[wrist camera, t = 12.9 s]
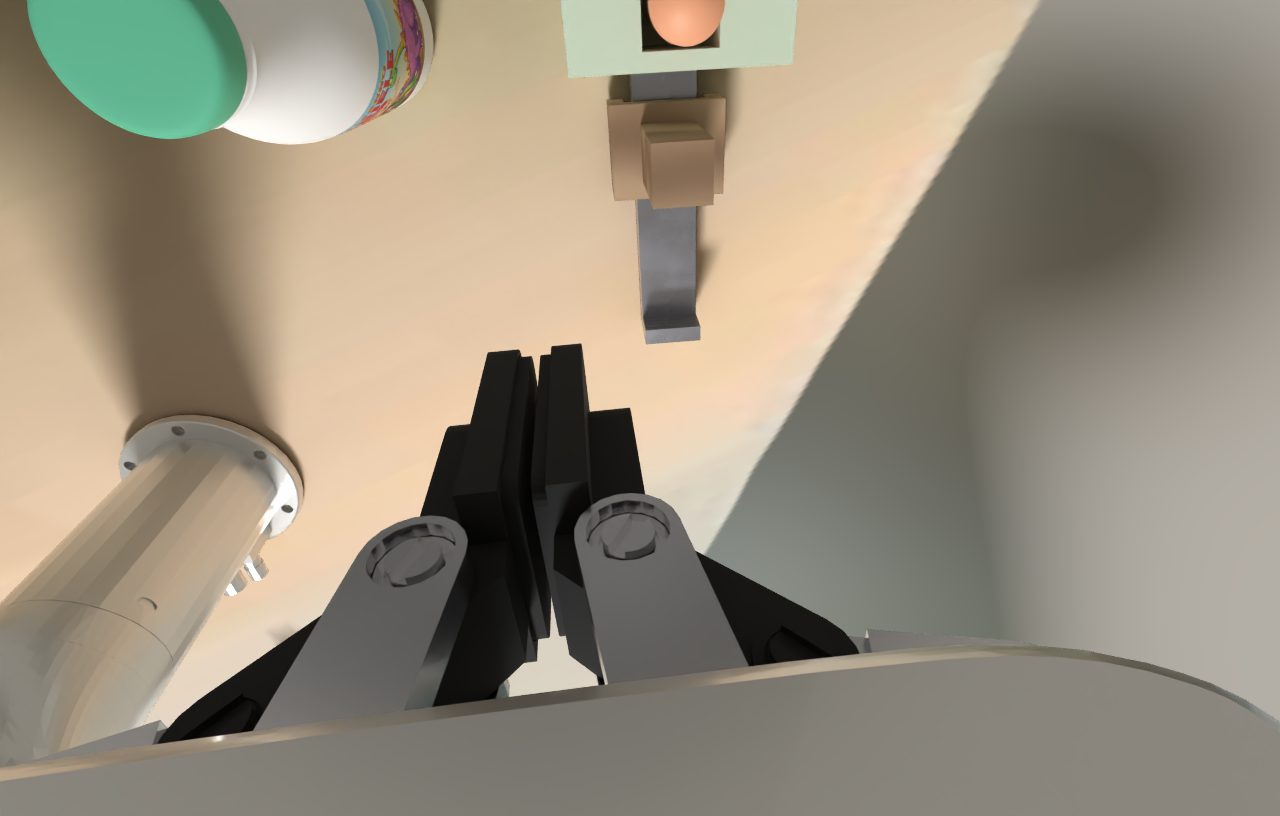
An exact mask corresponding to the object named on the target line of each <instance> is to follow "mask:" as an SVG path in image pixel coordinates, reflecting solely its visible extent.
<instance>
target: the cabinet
mask: <svg viewBox="0 0 1280 816" xmlns="http://www.w3.org/2000/svg"><path fill="white" fill-rule="evenodd" d="M797 2H798V0H725V8H724V13H723V16H722V19H721V21H720V23H719V25H718V27H717V29H716V30H715V31H714V33H713V34H712V35H711V36H710V37H709V38H707V39H706V40H705V41H703V42H702V43H699V44H697V45H694V46H688V47H683V46H678V45H675V44H672V43H670V42H668V41H666V40H665V39H663V38H662V37H661V36H660V35H659V34H658V33H657V31H656V30H654V29H653V28H652V27H651V26H650V25H649V24H648V22H647V20H646V18H645V15H644V11H643V0H561V8H562V18H563V28H564V38H565V48H566V58H567V68H568V78H575V77H592V76H608V75H624V74H641V73H657V72H673V71H690V70H706V69H723V68H739V67H755V66H772V65H788V64H792V63H793V51H794V39H795V26H796V14H797Z"/></svg>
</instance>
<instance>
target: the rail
mask: <svg viewBox="0 0 1280 816" xmlns="http://www.w3.org/2000/svg"><path fill="white" fill-rule="evenodd" d="M629 86H630V102H641V101H657V100H672V99H688V98H696V94H697V70H690V71H673V72H657V73H641V74H629ZM635 204H636V224H637V244H638V264H639V284H640V303H641V320H642V325H643V330H644V336H645V341H646V344H656V343H668V342H681V341H694V340H700V324H699V321H698V319H697V316H696V206H692V207H678V208H664V209H653V208H652V205H651V202H650V200H649V199H636V200H635Z"/></svg>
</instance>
